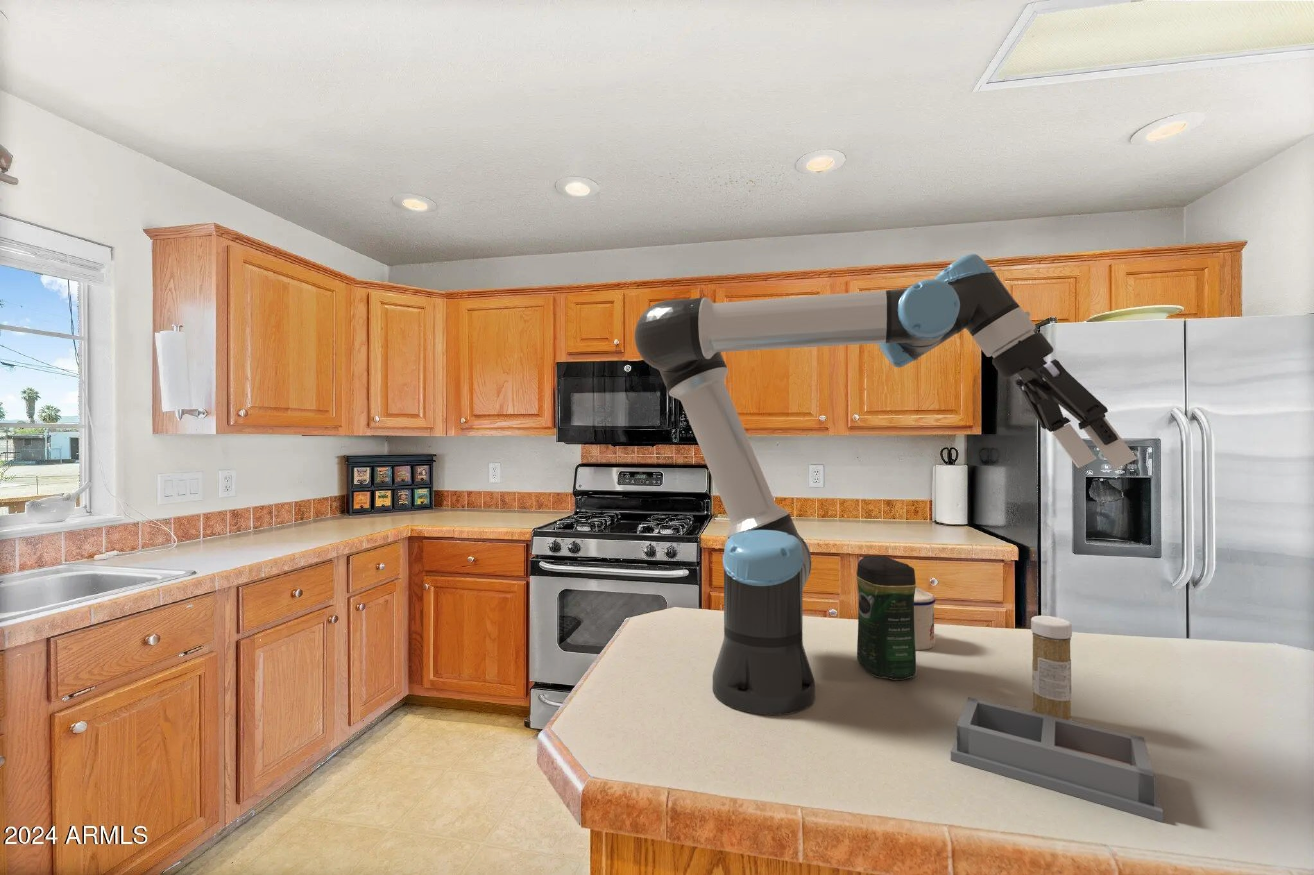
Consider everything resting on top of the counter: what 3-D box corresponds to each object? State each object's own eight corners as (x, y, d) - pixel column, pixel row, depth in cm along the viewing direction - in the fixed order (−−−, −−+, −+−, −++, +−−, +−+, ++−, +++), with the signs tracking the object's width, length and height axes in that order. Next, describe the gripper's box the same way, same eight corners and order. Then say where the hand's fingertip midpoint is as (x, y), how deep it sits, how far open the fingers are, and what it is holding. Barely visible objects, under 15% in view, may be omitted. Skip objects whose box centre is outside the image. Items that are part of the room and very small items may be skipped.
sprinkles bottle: (1036, 707, 80) (1035, 612, 81) (1076, 719, 77) (1075, 619, 77) (1027, 718, 77) (1027, 619, 77) (1068, 730, 74) (1067, 627, 74)
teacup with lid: (943, 652, 102) (943, 587, 102) (891, 650, 103) (891, 585, 103) (919, 630, 114) (919, 572, 114) (872, 629, 115) (872, 571, 115)
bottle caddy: (950, 759, 67) (950, 725, 67) (964, 724, 76) (964, 694, 76) (1163, 822, 56) (1162, 781, 56) (1150, 772, 64) (1150, 736, 65)
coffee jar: (925, 681, 89) (924, 563, 90) (876, 683, 89) (876, 563, 89) (894, 658, 99) (893, 551, 99) (850, 659, 98) (849, 552, 99)
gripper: (1065, 309, 74) (1177, 448, 70) (1016, 346, 98) (1097, 451, 93) (1010, 343, 76) (1114, 479, 72) (974, 370, 100) (1052, 474, 95)
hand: (1105, 463), depth 82 cm, fingers open, 13 cm apart
